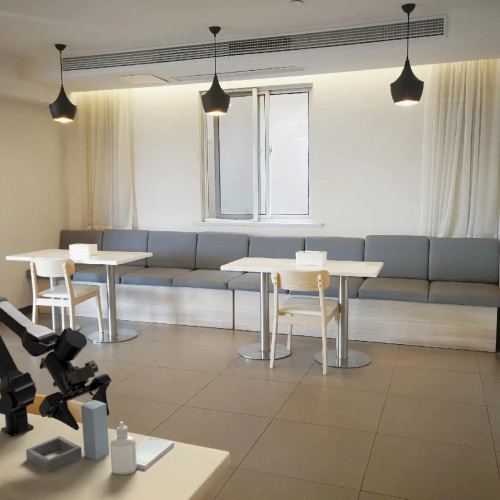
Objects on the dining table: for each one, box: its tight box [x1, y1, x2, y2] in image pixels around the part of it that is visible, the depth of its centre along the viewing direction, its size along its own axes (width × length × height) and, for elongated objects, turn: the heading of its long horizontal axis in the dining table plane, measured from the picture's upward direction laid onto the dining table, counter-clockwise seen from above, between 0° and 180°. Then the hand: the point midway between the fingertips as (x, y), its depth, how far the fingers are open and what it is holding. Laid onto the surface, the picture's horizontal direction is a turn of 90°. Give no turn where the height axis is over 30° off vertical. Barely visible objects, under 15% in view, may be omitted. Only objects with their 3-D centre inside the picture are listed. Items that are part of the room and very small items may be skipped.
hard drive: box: [136, 436, 175, 471], centre depth 129 cm, size 2×8×12 cm
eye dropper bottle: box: [109, 420, 138, 475], centre depth 121 cm, size 4×6×12 cm
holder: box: [25, 435, 83, 473], centre depth 129 cm, size 10×9×2 cm
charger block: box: [80, 400, 110, 461], centre depth 129 cm, size 4×4×13 cm
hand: (93, 422), depth 129 cm, fingers open, 9 cm apart
